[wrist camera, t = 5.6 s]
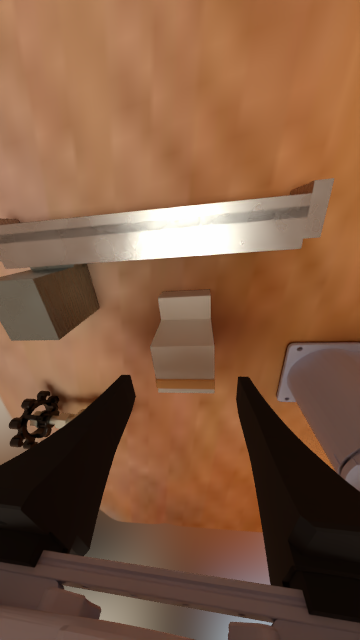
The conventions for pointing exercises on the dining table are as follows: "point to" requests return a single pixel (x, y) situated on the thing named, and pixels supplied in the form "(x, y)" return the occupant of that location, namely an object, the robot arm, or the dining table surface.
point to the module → (184, 343)
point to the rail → (136, 250)
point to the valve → (38, 420)
